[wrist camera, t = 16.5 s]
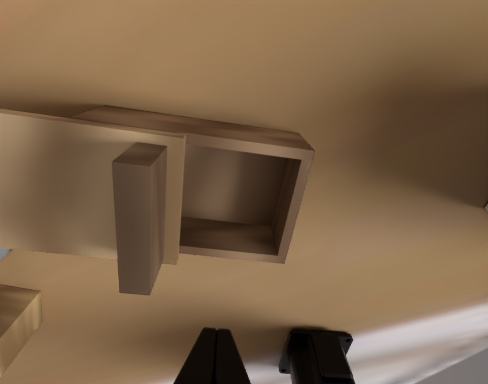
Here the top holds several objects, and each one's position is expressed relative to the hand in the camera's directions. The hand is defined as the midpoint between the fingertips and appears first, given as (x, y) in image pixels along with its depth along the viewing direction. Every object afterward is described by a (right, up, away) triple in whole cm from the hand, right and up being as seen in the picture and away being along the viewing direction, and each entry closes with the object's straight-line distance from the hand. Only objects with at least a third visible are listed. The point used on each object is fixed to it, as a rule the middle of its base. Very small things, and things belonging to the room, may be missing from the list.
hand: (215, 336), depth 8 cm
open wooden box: (-2, +6, +12) cm, 13 cm away
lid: (-9, +5, +7) cm, 12 cm away
